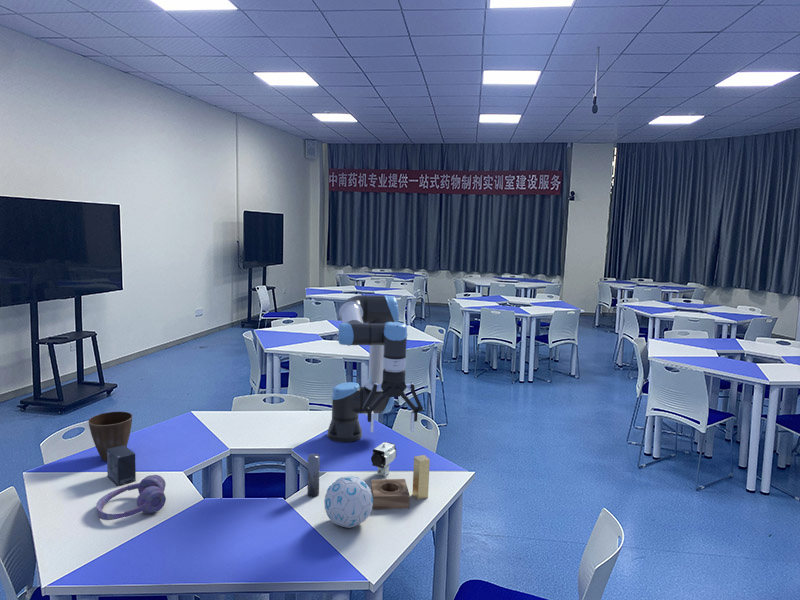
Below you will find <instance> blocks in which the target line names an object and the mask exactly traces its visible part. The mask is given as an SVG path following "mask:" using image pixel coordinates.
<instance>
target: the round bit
mask: <svg viewBox="0 0 800 600" xmlns="http://www.w3.org/2000/svg"><path fill="white" fill-rule="evenodd" d="M320 458H321V456H320V454H318V453H310V454H308V456H307V491H306V492H307V493H306V494H307V497H309V498H317V497H318V496H320V467H321V466H320V465H321V464H320V460H321V459H320Z"/></svg>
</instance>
